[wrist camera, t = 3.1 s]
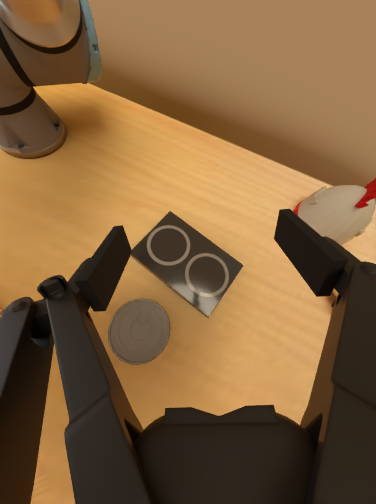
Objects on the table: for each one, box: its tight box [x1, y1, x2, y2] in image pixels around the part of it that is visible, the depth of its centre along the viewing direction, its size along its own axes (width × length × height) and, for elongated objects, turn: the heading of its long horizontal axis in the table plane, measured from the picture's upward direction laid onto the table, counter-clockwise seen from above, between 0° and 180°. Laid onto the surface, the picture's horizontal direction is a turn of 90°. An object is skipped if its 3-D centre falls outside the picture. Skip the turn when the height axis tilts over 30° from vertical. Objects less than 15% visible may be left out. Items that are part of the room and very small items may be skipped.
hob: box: [131, 211, 243, 317], centre depth 38 cm, size 20×13×2 cm, turn 52°
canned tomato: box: [108, 299, 170, 365], centre depth 28 cm, size 8×8×11 cm
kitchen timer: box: [294, 178, 376, 245], centre depth 39 cm, size 14×14×15 cm
